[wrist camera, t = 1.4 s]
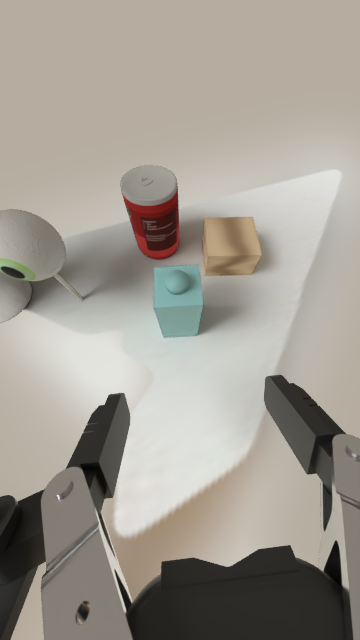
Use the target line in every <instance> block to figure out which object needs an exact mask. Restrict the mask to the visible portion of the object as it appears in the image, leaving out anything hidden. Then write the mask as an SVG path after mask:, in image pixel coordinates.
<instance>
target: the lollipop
mask: <svg viewBox="0 0 360 640" xmlns="http://www.w3.org/2000/svg"><path fill="white" fill-rule="evenodd" d="M65 258H66V249H65V245H64V242H63V240H62V238H61V236H60V235H59V233H58V232H57V231H56V229H55V228H54V227H53V226H52V225H51V224H49V223H48V222H47V221H46V220H44V219H42V218H41V217H39V216H37V215H35V214H32V213H30V212H27V211H22V210H12V209H10V210H2V211H0V271H1V272H3V273H5V274H6V275H8V276H11V277H13V278H16V279H20V280H24V281H40V280H44V279H48V278H50V277H52V276H54V277H55V278H56V279H57V280H58V281H59V282H60V283H61V284H62V285H63V286H64V287H65V288H67V289H68V290H69V291H70V292H71V293H72V294H73V295H74V296H75V297H76V298H77V299H78V300H80V301H82V300H83V298H82V297H81V296H80V295H79V294H78V293H77V292H76V291H75V290H74V289H73V288H72V287H71V286H70V285H69V284H68V283H67V282H66V281H65V280H64V279H63V278H62V277H61V276H60V275H59V274H58V272H59V271H60V269H61V268H62V266H63V264H64V262H65Z"/></svg>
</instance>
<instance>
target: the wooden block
mask: <svg viewBox="0 0 360 640" xmlns="http://www.w3.org/2000/svg"><path fill="white" fill-rule="evenodd" d="M202 249H203V261H204V272H205V276H222V275H251V274H252V272H253V271H254V269H255V267H256V265H257V263H258V261H259V260H260V258H261V256H262V252H261V248H260V244H259V240H258V236H257V232H256V228H255V224H254V220H253V217H233V218H204V226H203V235H202Z"/></svg>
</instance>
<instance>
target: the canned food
mask: <svg viewBox="0 0 360 640" xmlns="http://www.w3.org/2000/svg"><path fill="white" fill-rule="evenodd" d="M120 186H121V191H122V195H123V198H124V202H125V205H126V208H127V212H128V215H129V218H130V221H131V225H132V228H133V231H134V234H135V237H136V241H137V244H138V247H139V248H140V250H141V251H142V252H143V254H145V255H146V256H148V257H150V258H153V259H164V258H167V257H169V256H171V255H172V254H174V253H175V251H176V250H177V248H178V245H179V214H178V186H177V179H176V177H175V175H174V174H173V173H172V172H171V171H170V170H168V169H166V168H164V167H161V166H156V165H144V166H139V167H136V168H133V169H131V170H130V171H128V172H127V173H126V174H125V175H124V176H123V177H122V179H121V183H120Z"/></svg>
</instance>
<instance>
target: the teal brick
mask: <svg viewBox="0 0 360 640" xmlns="http://www.w3.org/2000/svg"><path fill="white" fill-rule="evenodd" d="M202 309H203V297H202V289H201V281H200V272H199V265H186V266H169V267H154V310H155V313H156V316H157V319H158V322H159V325H160V328H161V331H162V334H163V337H164V338H166V337H182V336H197V333H198V328H199V324H200V319H201V314H202Z"/></svg>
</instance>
